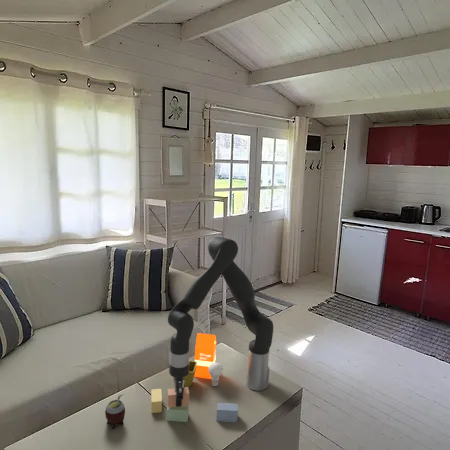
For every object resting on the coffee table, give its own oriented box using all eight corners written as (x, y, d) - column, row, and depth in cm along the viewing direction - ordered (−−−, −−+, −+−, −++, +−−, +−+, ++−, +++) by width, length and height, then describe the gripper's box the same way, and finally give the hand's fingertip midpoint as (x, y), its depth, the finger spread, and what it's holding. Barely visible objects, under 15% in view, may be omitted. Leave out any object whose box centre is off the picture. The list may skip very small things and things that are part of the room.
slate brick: (236, 415, 141) (237, 403, 140) (237, 422, 137) (237, 410, 136) (216, 414, 141) (217, 402, 140) (216, 421, 137) (217, 409, 136)
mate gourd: (109, 416, 136) (109, 380, 134) (129, 417, 136) (129, 382, 134) (102, 430, 129) (101, 393, 127) (123, 431, 129) (123, 394, 126)
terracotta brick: (187, 398, 139) (188, 387, 138) (188, 405, 135) (189, 393, 134) (167, 400, 137) (167, 388, 137) (167, 407, 134) (168, 395, 133)
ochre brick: (151, 400, 147) (151, 389, 146) (161, 399, 148) (161, 388, 147) (151, 413, 139) (151, 402, 138) (161, 412, 140) (161, 401, 139)
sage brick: (188, 415, 139) (188, 403, 139) (187, 422, 135) (187, 410, 135) (168, 413, 140) (168, 402, 139) (166, 420, 136) (166, 409, 135)
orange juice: (197, 367, 172) (198, 329, 169) (215, 369, 171) (217, 331, 168) (193, 376, 164) (195, 336, 161) (212, 379, 163) (214, 339, 160)
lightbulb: (211, 391, 154) (212, 368, 153) (205, 383, 160) (206, 360, 158) (224, 387, 157) (225, 365, 156) (217, 380, 163) (219, 358, 161)
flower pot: (196, 379, 163) (197, 361, 161) (192, 391, 154) (193, 372, 153) (177, 377, 163) (178, 359, 162) (173, 388, 155) (173, 370, 153)
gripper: (191, 371, 128) (189, 413, 130) (187, 351, 141) (186, 389, 144) (170, 372, 126) (169, 415, 129) (168, 352, 140) (167, 391, 142)
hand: (178, 401), depth 136 cm, fingers closed on terracotta brick, 4 cm apart
